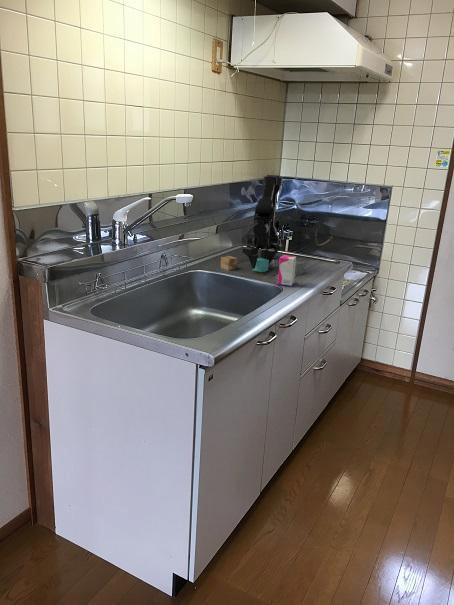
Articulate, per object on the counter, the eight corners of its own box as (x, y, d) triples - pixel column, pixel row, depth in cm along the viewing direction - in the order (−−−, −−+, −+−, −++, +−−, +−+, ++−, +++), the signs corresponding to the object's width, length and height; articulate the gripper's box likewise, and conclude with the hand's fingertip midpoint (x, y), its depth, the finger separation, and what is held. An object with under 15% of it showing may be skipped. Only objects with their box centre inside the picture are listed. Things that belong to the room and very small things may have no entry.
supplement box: (294, 283, 203) (296, 256, 200) (291, 287, 198) (293, 259, 194) (280, 281, 205) (282, 254, 202) (277, 285, 200) (279, 257, 196)
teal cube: (259, 268, 224) (260, 257, 222) (268, 271, 221) (268, 260, 219) (252, 270, 221) (253, 259, 219) (260, 272, 217) (261, 261, 216)
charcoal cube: (294, 271, 222) (295, 260, 221) (303, 273, 219) (304, 262, 217) (287, 272, 219) (288, 261, 217) (296, 275, 216) (297, 264, 214)
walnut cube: (228, 266, 224) (229, 255, 223) (236, 269, 221) (237, 258, 219) (220, 268, 221) (221, 257, 219) (228, 270, 218) (228, 259, 216)
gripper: (264, 227, 227) (261, 261, 232) (234, 231, 215) (232, 266, 220) (282, 232, 219) (279, 266, 224) (253, 236, 207) (250, 272, 212)
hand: (260, 267), depth 220 cm, fingers open, 9 cm apart
